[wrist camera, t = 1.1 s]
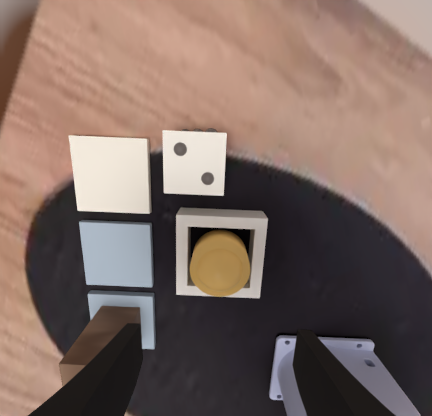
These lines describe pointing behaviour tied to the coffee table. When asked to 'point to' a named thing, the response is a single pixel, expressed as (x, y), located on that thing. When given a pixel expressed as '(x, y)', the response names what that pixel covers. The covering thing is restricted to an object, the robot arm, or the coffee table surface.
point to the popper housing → (220, 220)
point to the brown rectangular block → (96, 338)
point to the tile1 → (117, 253)
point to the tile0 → (129, 300)
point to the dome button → (219, 263)
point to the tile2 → (111, 174)
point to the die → (194, 162)
